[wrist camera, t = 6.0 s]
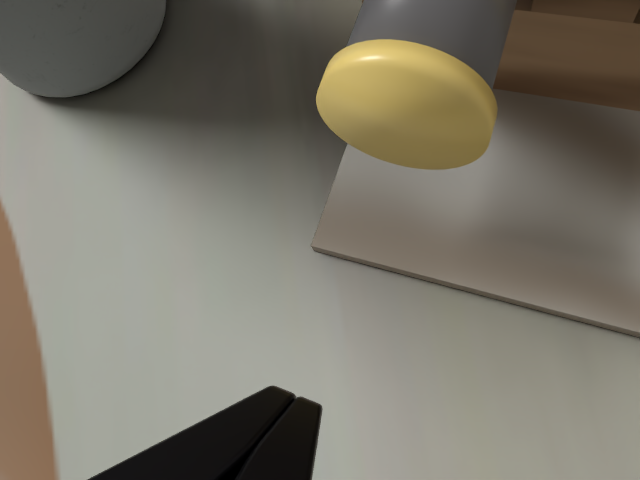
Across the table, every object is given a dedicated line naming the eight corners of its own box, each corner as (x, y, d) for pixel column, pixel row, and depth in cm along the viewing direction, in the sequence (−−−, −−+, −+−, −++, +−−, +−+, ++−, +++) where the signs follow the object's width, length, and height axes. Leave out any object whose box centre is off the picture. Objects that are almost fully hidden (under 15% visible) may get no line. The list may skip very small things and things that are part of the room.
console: (737, 363, 18) (1475, 169, 5) (313, 250, 22) (152, -4, 9) (777, 12, 22) (1248, -583, 9) (411, -25, 26) (388, -462, 13)
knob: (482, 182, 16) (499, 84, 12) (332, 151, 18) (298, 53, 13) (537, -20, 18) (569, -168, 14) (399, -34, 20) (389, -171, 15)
